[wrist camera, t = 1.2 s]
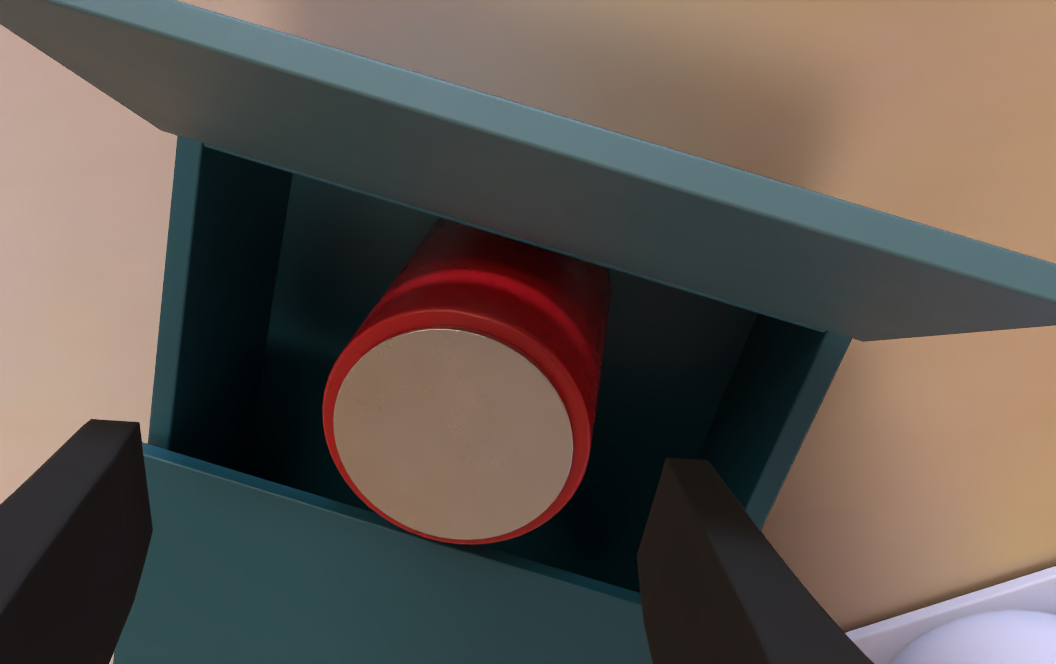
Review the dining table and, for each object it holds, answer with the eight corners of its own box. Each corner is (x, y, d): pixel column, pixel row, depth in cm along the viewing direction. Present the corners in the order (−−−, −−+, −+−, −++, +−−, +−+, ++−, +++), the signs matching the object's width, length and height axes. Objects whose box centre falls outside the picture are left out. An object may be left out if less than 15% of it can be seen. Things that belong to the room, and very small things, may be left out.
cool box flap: (159, 130, 16) (166, 109, 16) (864, 342, 16) (871, 320, 16) (-107, -45, 9) (-95, -81, 9) (1117, 322, 9) (1127, 284, 9)
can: (646, 326, 23) (639, 497, 17) (479, 402, 25) (411, 586, 18) (549, 154, 22) (499, 264, 15) (378, 246, 23) (263, 383, 17)
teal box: (296, 64, 22) (156, 122, 16) (814, 218, 22) (872, 337, 16) (228, 515, 28) (108, 682, 22) (634, 639, 28) (627, 841, 22)
